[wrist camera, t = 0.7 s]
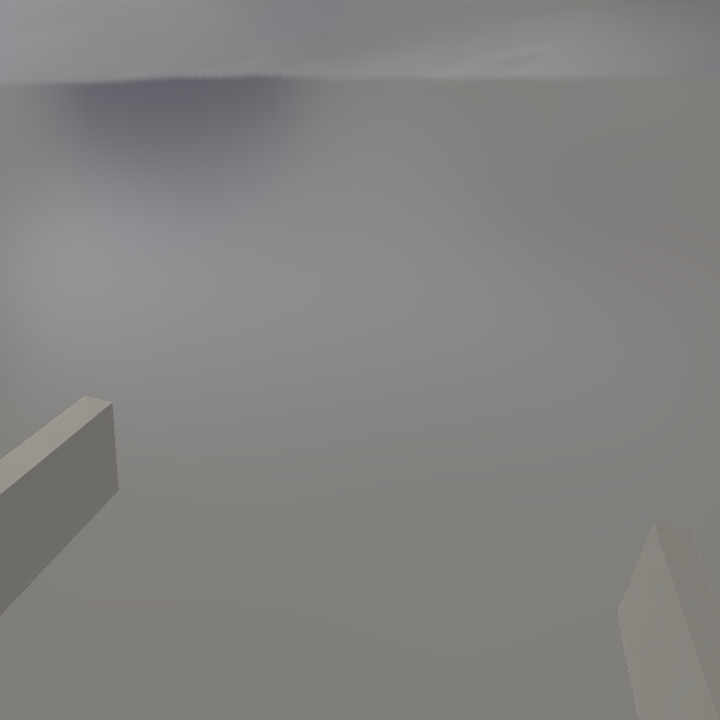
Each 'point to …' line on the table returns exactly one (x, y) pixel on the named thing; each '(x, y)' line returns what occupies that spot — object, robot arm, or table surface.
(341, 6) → the table surface
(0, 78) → the table surface
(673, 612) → the robot arm
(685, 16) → the table surface
